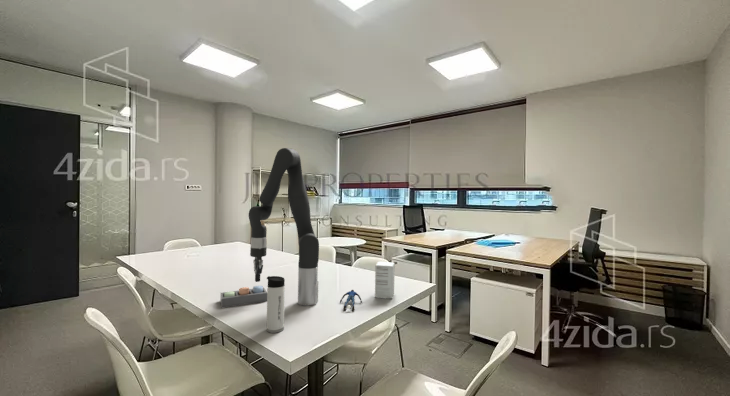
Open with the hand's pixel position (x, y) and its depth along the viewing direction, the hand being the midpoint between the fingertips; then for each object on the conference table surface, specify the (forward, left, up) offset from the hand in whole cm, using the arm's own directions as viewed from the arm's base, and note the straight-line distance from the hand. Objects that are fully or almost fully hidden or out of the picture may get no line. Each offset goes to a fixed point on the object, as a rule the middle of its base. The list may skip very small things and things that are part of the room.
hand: (257, 281), depth 144 cm
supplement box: (-64, -10, -9) cm, 65 cm away
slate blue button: (0, 0, -6) cm, 6 cm away
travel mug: (-20, +33, -9) cm, 39 cm away
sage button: (+11, +6, -8) cm, 15 cm away
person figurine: (-47, +4, -9) cm, 48 cm away
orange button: (+5, +3, -6) cm, 9 cm away
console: (+5, +3, -9) cm, 11 cm away
